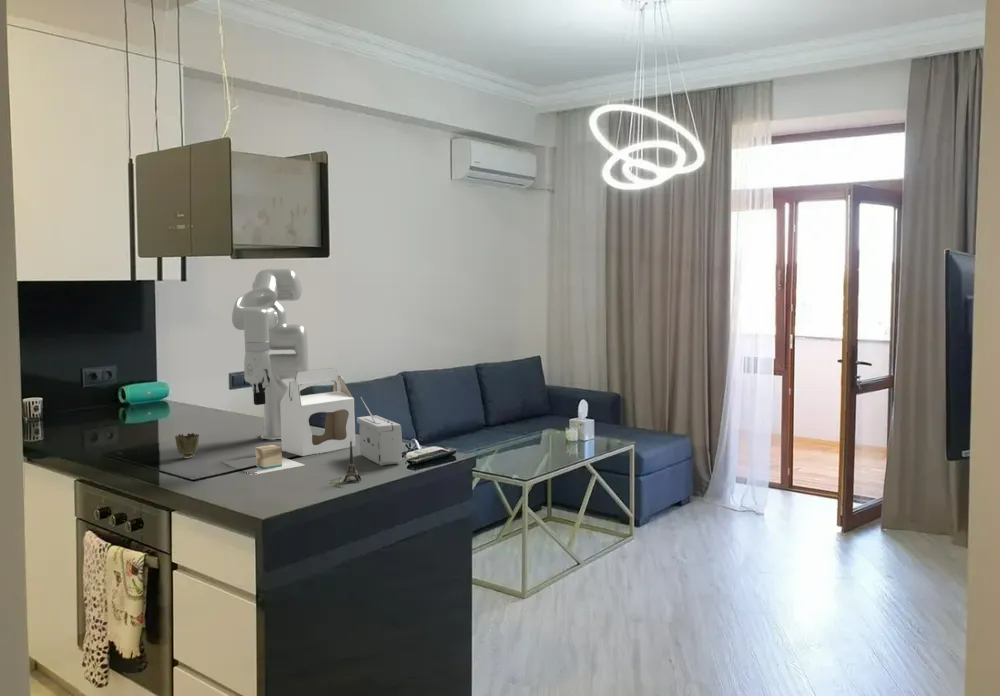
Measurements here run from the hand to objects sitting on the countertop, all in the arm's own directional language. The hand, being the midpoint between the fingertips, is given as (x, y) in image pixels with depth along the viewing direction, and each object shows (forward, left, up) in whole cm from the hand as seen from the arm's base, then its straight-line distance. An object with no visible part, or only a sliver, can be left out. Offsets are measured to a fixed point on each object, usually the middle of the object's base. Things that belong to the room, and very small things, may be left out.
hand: (259, 404), depth 255 cm
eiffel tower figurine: (+38, +10, -20) cm, 44 cm away
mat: (0, 0, -20) cm, 20 cm away
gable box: (-8, +25, -20) cm, 33 cm away
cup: (-26, -14, -20) cm, 35 cm away
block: (+5, 0, -13) cm, 14 cm away
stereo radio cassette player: (+21, +31, -20) cm, 42 cm away
